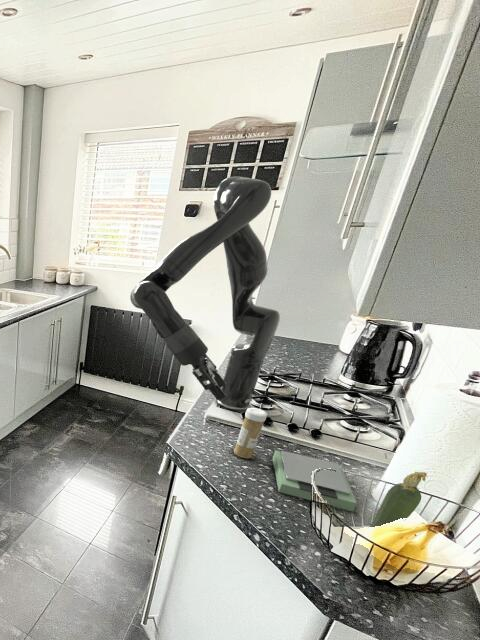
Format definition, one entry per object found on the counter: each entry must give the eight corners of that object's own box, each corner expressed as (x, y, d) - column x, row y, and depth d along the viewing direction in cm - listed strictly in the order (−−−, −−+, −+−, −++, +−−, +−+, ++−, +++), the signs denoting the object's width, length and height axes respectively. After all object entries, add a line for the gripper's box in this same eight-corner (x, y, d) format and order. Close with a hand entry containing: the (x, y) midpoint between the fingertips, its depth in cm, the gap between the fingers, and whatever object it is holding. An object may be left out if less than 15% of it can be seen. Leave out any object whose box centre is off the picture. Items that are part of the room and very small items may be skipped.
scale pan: (279, 452, 111) (280, 450, 111) (336, 466, 106) (338, 463, 106) (285, 479, 101) (286, 477, 101) (349, 495, 96) (350, 493, 96)
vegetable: (356, 539, 87) (398, 459, 79) (382, 545, 86) (428, 464, 77) (365, 554, 84) (410, 472, 75) (392, 561, 82) (442, 478, 74)
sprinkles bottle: (252, 461, 112) (268, 417, 106) (233, 456, 114) (247, 412, 108) (252, 452, 116) (267, 409, 110) (232, 447, 118) (246, 405, 112)
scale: (272, 457, 113) (275, 449, 112) (337, 473, 107) (341, 465, 106) (278, 492, 101) (282, 483, 100) (353, 512, 95) (357, 503, 93)
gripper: (196, 344, 104) (237, 395, 104) (199, 328, 115) (235, 375, 115) (168, 360, 108) (207, 409, 108) (173, 343, 120) (209, 388, 120)
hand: (222, 391), depth 112 cm, fingers open, 8 cm apart
